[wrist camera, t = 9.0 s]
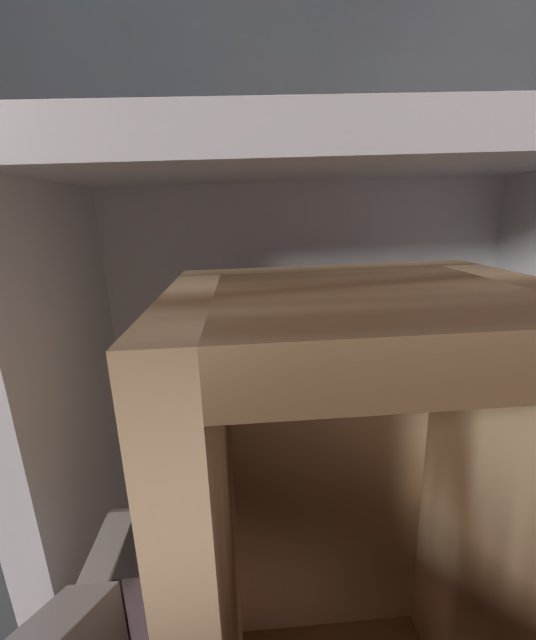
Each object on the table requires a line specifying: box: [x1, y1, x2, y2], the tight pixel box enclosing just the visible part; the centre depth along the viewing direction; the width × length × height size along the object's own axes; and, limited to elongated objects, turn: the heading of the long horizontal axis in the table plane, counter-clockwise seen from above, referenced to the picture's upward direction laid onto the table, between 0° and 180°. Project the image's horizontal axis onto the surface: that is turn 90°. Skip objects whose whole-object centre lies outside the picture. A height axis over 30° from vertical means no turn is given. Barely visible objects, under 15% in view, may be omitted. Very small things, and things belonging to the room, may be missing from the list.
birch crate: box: [106, 260, 536, 640], centre depth 7 cm, size 10×6×5 cm, turn 2°
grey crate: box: [0, 90, 536, 627], centre depth 10 cm, size 15×13×6 cm
